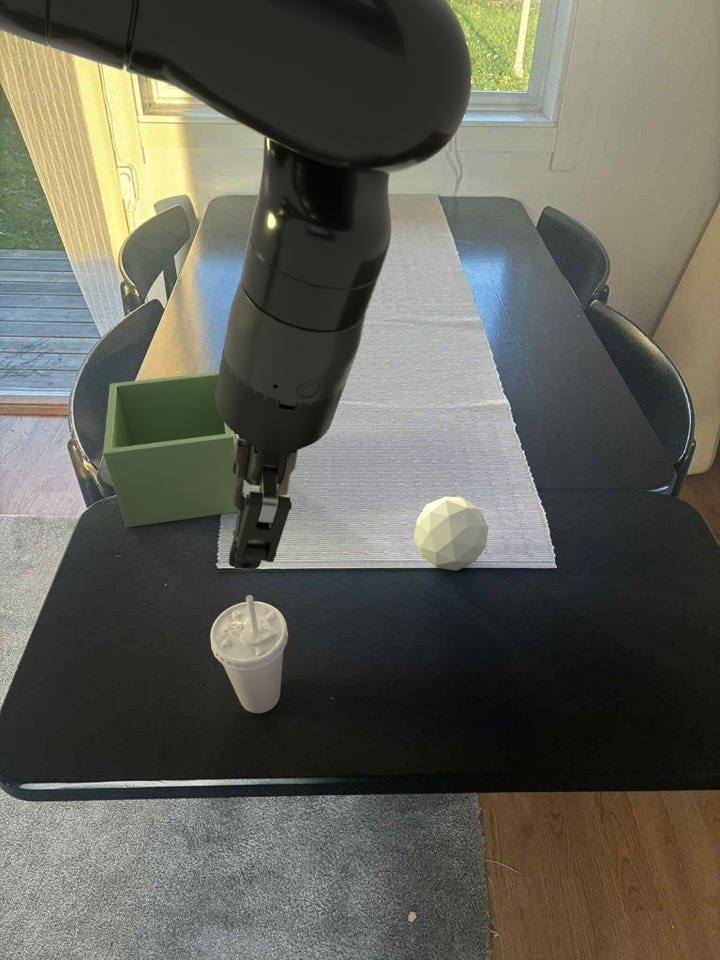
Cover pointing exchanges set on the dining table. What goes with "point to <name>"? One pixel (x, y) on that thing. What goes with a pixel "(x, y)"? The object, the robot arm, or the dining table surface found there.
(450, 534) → the geometric ball
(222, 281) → the dining table surface
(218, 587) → the dining table surface
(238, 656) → the smoothie
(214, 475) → the trash bin
